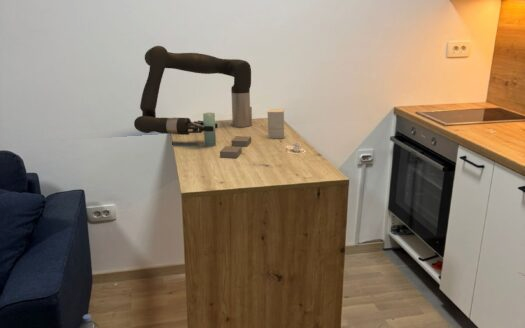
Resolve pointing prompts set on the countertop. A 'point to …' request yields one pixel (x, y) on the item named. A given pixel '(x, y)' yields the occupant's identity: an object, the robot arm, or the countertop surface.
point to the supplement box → (276, 123)
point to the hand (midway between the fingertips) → (215, 127)
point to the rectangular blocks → (235, 151)
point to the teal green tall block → (209, 136)
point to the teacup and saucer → (295, 148)
